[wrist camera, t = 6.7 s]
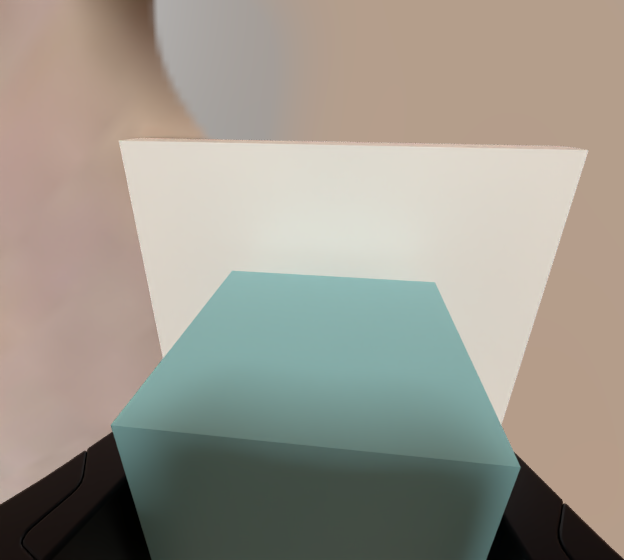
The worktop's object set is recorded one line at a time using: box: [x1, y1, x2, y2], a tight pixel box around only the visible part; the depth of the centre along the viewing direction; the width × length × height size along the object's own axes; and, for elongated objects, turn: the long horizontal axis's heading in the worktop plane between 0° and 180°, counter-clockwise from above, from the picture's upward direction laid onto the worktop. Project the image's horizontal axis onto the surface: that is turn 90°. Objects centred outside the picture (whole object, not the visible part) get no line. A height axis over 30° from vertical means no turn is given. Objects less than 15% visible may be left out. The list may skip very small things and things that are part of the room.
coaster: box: [119, 138, 588, 425], centre depth 11 cm, size 11×11×1 cm
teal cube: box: [111, 271, 521, 560], centre depth 8 cm, size 5×5×5 cm
